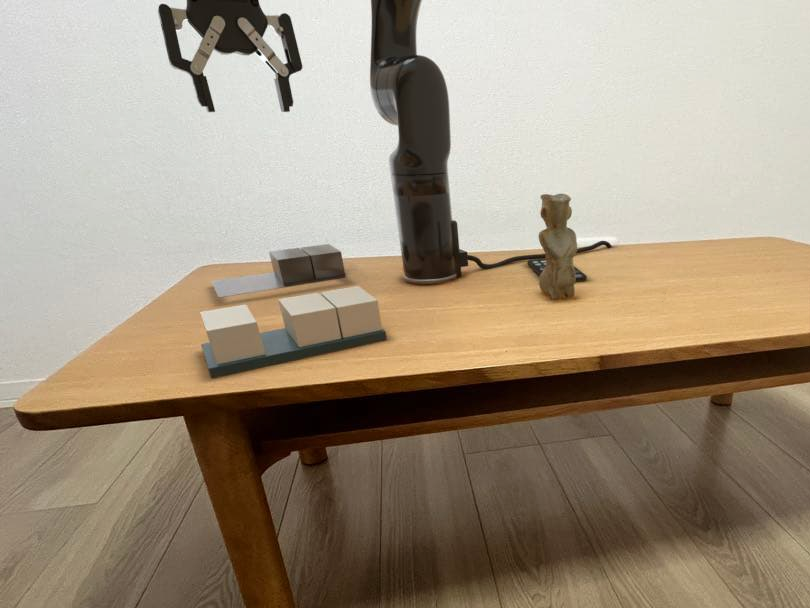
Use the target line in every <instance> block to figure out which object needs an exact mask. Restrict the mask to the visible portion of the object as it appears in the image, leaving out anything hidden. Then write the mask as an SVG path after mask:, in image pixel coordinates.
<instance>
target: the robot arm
mask: <svg viewBox="0 0 810 608" xmlns="http://www.w3.org/2000/svg"><path fill="white" fill-rule="evenodd" d="M422 2H423V0H370V10H371V31H370V33H371V35H370V60H369V62H370V63H369V89H370V94H371V95H370V96H371V99H372V102H373V105H374V107H375V109H376V111H377V113H378V114H379V116H380V117H381V118H382V119H383V120H384V121H385V122H386V123H388V124H390V125H393V126H397V130H398V131H397V132H398V134H397V135H398V141H397V145H396V147H395V149H394V150H393V151H392V152H391V153H390V155H389V158H388V164H389V165H388V166H389V172H390V180H391V187H392V195H393V201H394V210H395V217H396V225H397V232H398V240H399V246H400V254H401V261H402V270H403V280H404V281H405V282H406V283H407V282H408V283H410V284H415V285H416V284H417V285H435V284H441V283H442V284H443V283H446V282H450V281H453V280H455V279H458V278H462V277H463V276H462V275H463V273H462V268H465V267H469V261H471V262H474V263H476V265H477V266H478V268H481V269H484V270H490V269H494V268H499V267H503V266H506V265H508V264H512V263H514V262H523V261H528V260H535V259H546V256H545V253H536V254H524V255H517V256H512V257H509V258H505V259H504V260H501V261H498V262H496V263H490V264H489V263H483V262H482V260H481V259H480V258H479V257H477V256H475V255H471V254H468V251H466V250H463V249H460V237H459V228H458V227H459V226H458V222H457V220H455V219H453V213H452V211H453V210H452V201H451V192H450V191H451V190H450V179H449V169H448V168H449V165H448V164H449V158H450V155H451V148H452V138H451V136H452V135H451V114H450V99H449V91H448V86H447V82H446V79H445V76H444V74H443V72H442V70H441V68H440V67H439V65H438V64H437V63H436V62H435V61H434V60H432V59H431V58H430V57H427V56H425V55H422V54H418V48H417V46H418V45H417V43H418V42H417V29H418V20H419V13H420V9H421V5H422ZM262 9H263V8H262V6H261V5H260V0H186V8H179V7H171V6H169V5H168V4H166V3H161V4H159V5H158V9H157V14H158V18H159V24H160V28H161V31H162V36H163V41H164V46H165V49H166V53H167V58H168V61H169V62H168V63H169V65H170V66H171V68H173V69H175V70H178V71H181V72H184V73H186V74H187V75H188V76H189V77H190V78H191V80H192V84H193V88H194V92H195V95H196V99H197V103H198V104H199V105H200V107H203V108H205V109H206V112H207V113H216V109H215V105H214V102H213V98H212V93H211V90H210V86H209V83H208V79H207V76H206V75H204V69H205V67H206V66H207V63H208V62H209V59H210V57H211V56H212V53H213V51H214V52H216V53H219V54H220V55H223V56H224V55H227V56H229V55H232V54H237V55H239V56H251V55H253V54H255V55H256V56H257V57H258V58H259V59H260V60H261V61H262V62H263V63H264V64H265V65H266V66H267V67H268V69H269V70H271V72H272V73H273V74H274V75H275V78H274V79H273V80H274V86H275V89H276V94H277V98H278V104H279V107H280V111H281V112H282V113H290V111H291V109H290V108H291V107H294V97H293V93H292V89H291V84H290V77H291V75H292V74H295V73H298V72H301V71H302V70H303V62H302V58H301V54H300V50H299V46H298V42H297V39H296V34H295V30H294V26H293V21H292V18H291V16H290V15H289V14H288V13H286V12H283V13H281V14H265V12H264V11H263V10H262ZM184 21H187V22H188V23H189V25H190V26H191V27H192V28H193V29H194V30H195V32H196V33H197V34H198V35H199V36H200V37H201V38H202V39H201V40H200V42H199V45H198V47H197V49H196V51H195V53H194V56H193V58H192V59H191V60H188V59H186V58H184V57H183V56H182V52H181V48H180V43H179V38H178V34H177V33H178V32H180V31H182V29H183V23H184ZM268 26H269V27H270V28H271V29H272V31H273V34H275V36H277V37H279V38H280V40H281V44H282V48H283V53H284V56H285V59H286V63H284V62H283V61H282V60H281V59H280V58H279V57H278V56H277V54H276V53H275V52H274V50H273V49H272V47H270V45H269V44H268V43H267V42H266V41H265V40H264V38H263V37H264V36H265V34H266V31H267V28H268ZM601 246H605V247H606V248H608V249H612V248H613V246H612V244H611V243H610V242H609V241H607V240H599V241H597V242H595V243H594V244H592V245H588V246H584V247H579V248H578V247H577V252H576V254H575V255H578V254H581V253H585V252H590V251H593V250H595V249H597V248H599V247H601Z"/></svg>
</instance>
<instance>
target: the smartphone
mask: <svg viewBox="0 0 810 608" xmlns="http://www.w3.org/2000/svg"><path fill="white" fill-rule="evenodd" d="M526 263H527V265H528V266H529V267H530V268H531V270H533V271H534V273H536V274H537V275H538V276H539V277H540V275H541V273H542V271H543V270H544V268H545V267H546V259H532V260H526ZM574 269H575V275H576V281H575V282H584V281H586V280H587V278H588V276H587V275H586V274H585V273H583V272H582V271H581V270H580V269H578V267H576V266H574Z"/></svg>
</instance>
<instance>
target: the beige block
mask: <svg viewBox="0 0 810 608" xmlns="http://www.w3.org/2000/svg"><path fill="white" fill-rule="evenodd" d="M199 313H200V317H201V320H202V323H203V326H204V329H205V332H206V335H207V338H208V342H209V343H210V345H211V348H212V351H213V354H214V357H215V360H216V363H217V365H219V364H223V363H228V362H233V361H238V360H242V359H247V358H252V357H257V356H261V355H265V350H264V347H263V343H262V339H261V336H260V333H261V332H260V329H259V325H258V322H257V320H256V318H255V316H254V315H253V314H252V312H251V310H250V308H249V307H248V305H247V304H240V305H233V306H228V307H221V308H216V309H210V310H204V311H200V312H199Z"/></svg>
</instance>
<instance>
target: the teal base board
mask: <svg viewBox="0 0 810 608" xmlns="http://www.w3.org/2000/svg"><path fill="white" fill-rule="evenodd" d="M278 304H279V308H280V312H281V316H282V321H283V324H284V327H283V328H278V329H274V330H268V331H263V332H260V336H261V339H262V343H263V347H264V350H265V355H261V356H257V357H252V358H247V359H242V360H238V361H233V362H228V363H223V364H219V365H217V363H216V360H215V357H214V354H213V351H212V348H211V345H210V342H205V343H201V345H200V346H201V349H202V351H203V355H204V359H205V362H206V366H207V369H208V372H209V375H210V378H211V379H215V378H220V377H223V376H229V375H233V374H237V373H242V372H247V371H251V370H252V371H253V370H256V369H261V368H265V367H269V366H274V365H278V364H283V363H284V364H285V363H287V362H292V361H297V360H302V359H306V358H311V357H315V356H319V355H324V354H328V353H333V352H338V351H342V350H346V349H351V348H355V347H360V346H365V345H369V344H374V343H379V342H383V341H387V340H388V339H387V332H386V330H385V329H384V328H383V325H382V318H381V312H380V307H379V300H378V299H377V298H375V297H374V296H373V295H371V294H370V293H368V292H367V291H366V290H365V289H363V288H362V287H360V286H359V285H355V286H350V287H344V288H343V287H342V288H337V289H332V290H326V291H325V290H324V291H320V292H314V293H313V292H312V293H307V294H301V295H296V296H290V297H289V296H288V297H283V298H278Z"/></svg>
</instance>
